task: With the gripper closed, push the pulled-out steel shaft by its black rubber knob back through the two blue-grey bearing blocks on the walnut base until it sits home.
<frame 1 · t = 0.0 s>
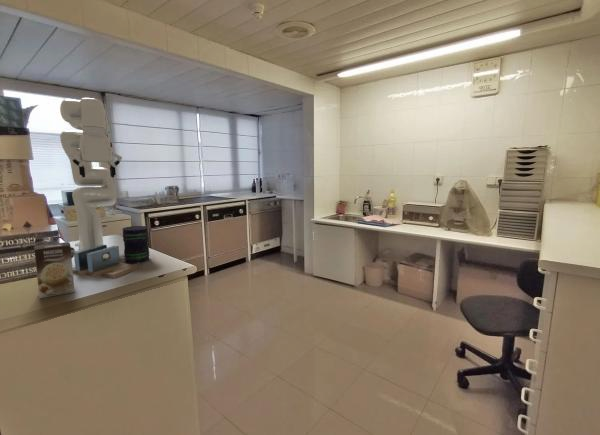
hand: (98, 177, 117), 37 cm above the countertop, tool pointing down, fingers open, 9 cm apart
base plate: (105, 270, 118), on the countertop
shaft: (85, 254, 119), point 6 cm above the countertop, slide at 8.0 cm
storage jar: (137, 260, 133), on the countertop
coffee box: (57, 292, 98), on the countertop
bearing blocks: (97, 257, 118), on the base plate, point 5 cm above the countertop
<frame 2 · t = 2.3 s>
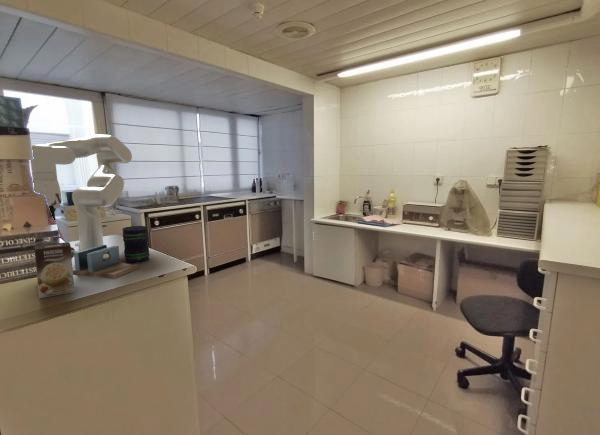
hand: (50, 221, 121), 19 cm above the countertop, tool pointing down, fingers closed
nothing on the countertop moved.
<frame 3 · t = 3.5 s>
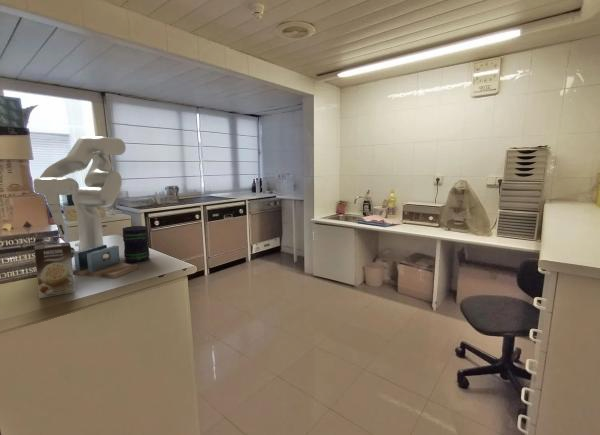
hand: (53, 252, 123), 6 cm above the countertop, tool pointing down, fingers closed
nothing on the countertop moved.
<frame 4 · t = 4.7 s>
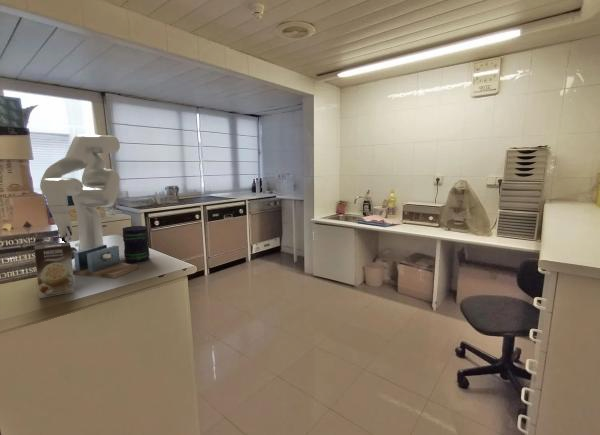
hand: (61, 253, 122), 6 cm above the countertop, tool pointing down, fingers closed
shaft: (87, 254, 119), point 6 cm above the countertop, slide at 6.9 cm, touching gripper
everything else where it was.
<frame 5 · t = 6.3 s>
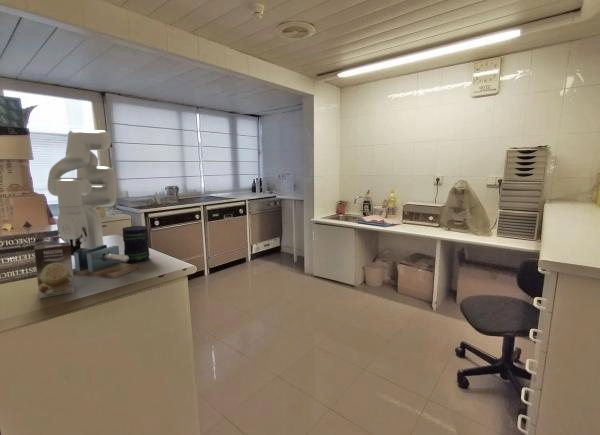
hand: (76, 254, 120), 6 cm above the countertop, tool pointing down, fingers closed
shaft: (102, 256, 118), point 6 cm above the countertop, slide at -0.5 cm, touching gripper
everything else where it was.
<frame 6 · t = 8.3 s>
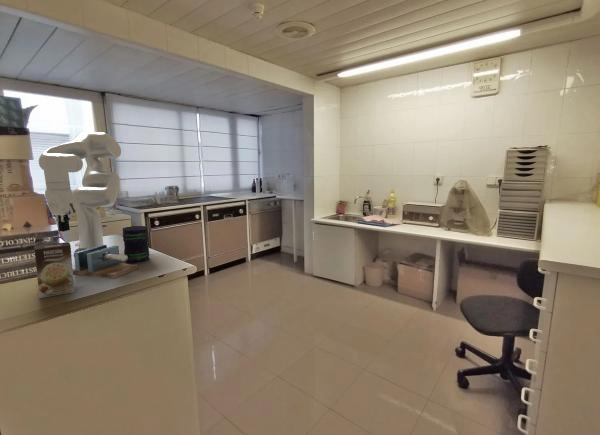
hand: (64, 230, 121), 15 cm above the countertop, tool pointing down, fingers closed
shaft: (102, 256, 118), point 6 cm above the countertop, slide at 0.0 cm
everything else where it was.
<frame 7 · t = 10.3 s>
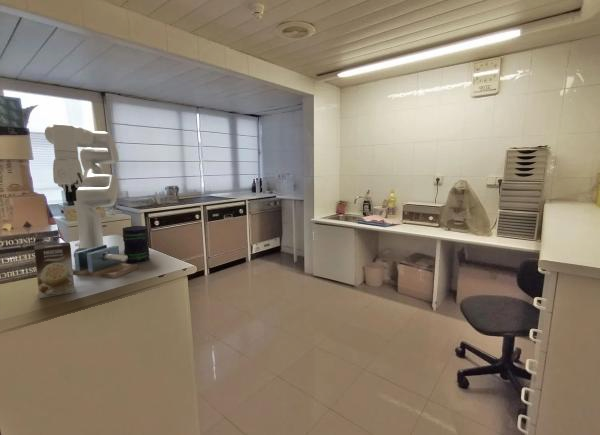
hand: (71, 201, 122), 27 cm above the countertop, tool pointing down, fingers closed
nothing on the countertop moved.
at the end: shaft slide at 0.0 cm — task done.
